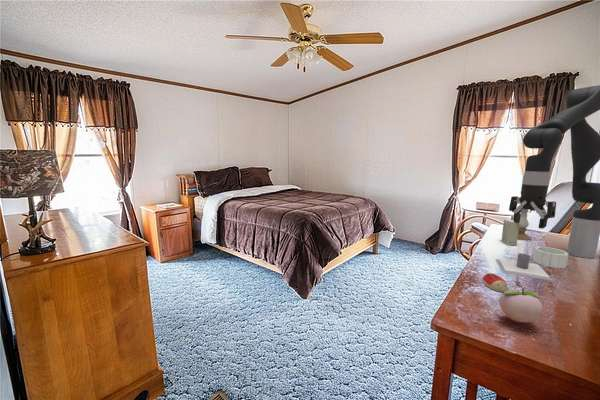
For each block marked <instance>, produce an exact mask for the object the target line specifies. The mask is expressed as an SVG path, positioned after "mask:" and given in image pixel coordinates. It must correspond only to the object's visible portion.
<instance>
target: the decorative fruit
mask: <svg viewBox="0 0 600 400" xmlns="http://www.w3.org/2000/svg"><path fill="white" fill-rule="evenodd" d="M539 299H540V300H542V297H541V296H540V295H538V294H537V293H536V292H532V291H527V290H526V291H525V288H524V287H522V289H521V290H514V289H508V290H507V291H505V292H502V293H501V295H500V297H499V298H498V302H499V303H498V304H499V308H500V309H501V310H502V313H504V315H505V316H506V317H508V318H509V319H510V320H512V321H513V322H515V323H534V322H537V321H538V320H540V318H541V317H542V315H543V313H544V307H543V304H542V303H541V301H540V300H539Z"/></svg>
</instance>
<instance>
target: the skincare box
mask: <svg viewBox="0 0 600 400" xmlns="http://www.w3.org/2000/svg"><path fill="white" fill-rule="evenodd" d="M519 223H520V222H519ZM519 223H514V221H513V219H508V218H507V219H503V224H502V233H501V241H500V242H501V243H502V244H505V245H507V246H515V247H516V246H518V245H517V244H518V240H519V239H518V231H519Z"/></svg>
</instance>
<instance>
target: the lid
mask: <svg viewBox="0 0 600 400" xmlns="http://www.w3.org/2000/svg"><path fill="white" fill-rule="evenodd" d="M530 257H531V256H530V254H526V253H520V252H519V253H518V254H517V258H516V260H511V259H503V258H498V260H499V262H500V264H501V265H502V267H503V269H504V271H505V272H508V273H514V274H520V275H527V276H533V277H539V278H545V279H549V278H550V277H551V276H550V275H549V274H548V273H547V272H546V271H545V270H544V269H543V267H542V266H541V265H540V264H538V263H532V262H530V260H531V259H530ZM540 266H541V267H542V268H541V267H540ZM544 271H545V272H546V273H547V274H548V275H549V276H550V277H549V276H548V275H547V274H546V273H545V272H544ZM508 273H507V274H508ZM514 274H513V275H514ZM520 275H519V276H520ZM545 279H544V280H545Z"/></svg>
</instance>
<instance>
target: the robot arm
mask: <svg viewBox="0 0 600 400" xmlns="http://www.w3.org/2000/svg"><path fill="white" fill-rule="evenodd" d="M565 103H566V105H565V107H566V108H565V109H563V110H561V111H560V112H557V113H556V114H554V115H553V116H551V118H549V119H548V120H547V121H545V122H542V123H541V124H539V125H537V126H535V127H532V128H530V129H529V130H528V131H527V132H526V133H525V134H524V136H523V138H522V143H523V145H524V146H525V147H526V148H527V149H534V150H535V149H542V150H541V152H540V153H538V154H533V155H530V156H528V157H526V159H525V160H526V161H525V166H524V167H525V168H524V172H523V173H524V174H523V176H522V181H521V189H520V197H519V196H518V195H517V196H511V198H510V203H509V206H508V211H509V212H512V213H513V218H512V220H513V221H514V223H519V222H520V217H521V212H522V211H523V210H525V209H526V210H528V211H529V210H530V211H532V212H536V214H538V216H539V217H540V218H539V222H538V229H541V230H542V229H545V228H546V227H547V225H548V219H553V218H554V219H555V217H556V208H557V202H556V200H555V201H547V196H548V191H549V185H550V184H549V183H550V173H551V166H552V162H553V158H554V156H555V154H556V152H557V151H558V149H559V147H560V145H561V143H562V141H563V135H564V134H565V133H566V132H568V131H570V151H571V152H570V153H571V154H570V155H571V160H572V183H571V184H572V187H571V195H572V199H573V201H574V202H577V203H583V204H584V203H585V204H591V205H592V206H591V207H588V208H585V209H584V208H583V209H577V210H574V212H573V214H572V219H571V227H570V231H569V238H568V242H567V247H566V252H567V253H568V254H569V255H571V256H576V257H578V258H585V259H595V258H596V254H597V251H598V246H599V241H600V183H599V182H589V181H588V182H587V179H586V178H587V174H588V173H589V172H590V171H591V170H592V168H594V167H595V166H596V165H597V164H598V162H599V161H600V134H599V133H598V131H597V130H596V129H594V127H592V126H591V125H590V124H589V123H588V122H587V120H586V119H587V117H589V116H591V115H593V114H595V113H596V112H598V111H600V85H598V84H597V85H591V86H587V87H580V88H575V89H574V88H573V89H571V90H570V91H569V92H568V94H567V97H566V102H565ZM519 201H520V203H521V204H519V205H518V202H519ZM545 206H546V207H547V210H546V209H545Z"/></svg>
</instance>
